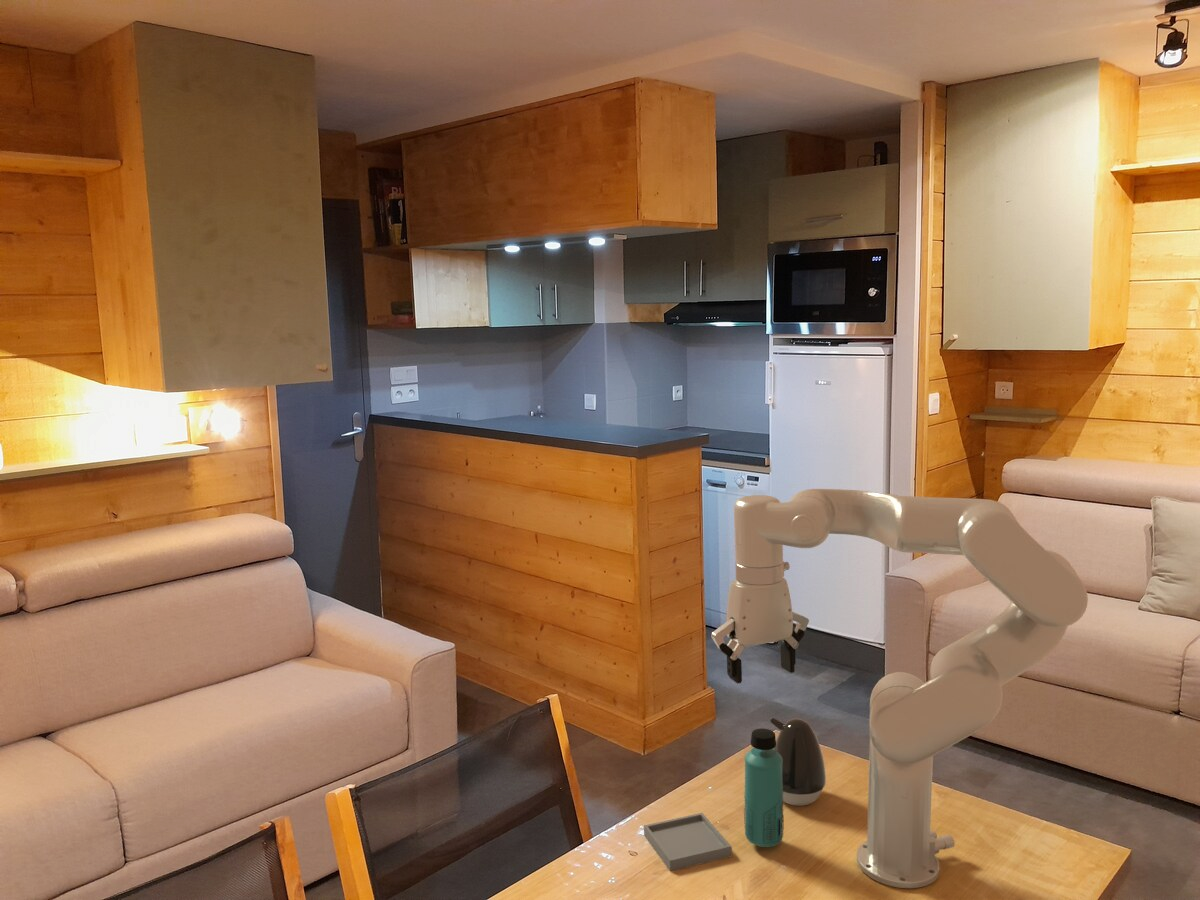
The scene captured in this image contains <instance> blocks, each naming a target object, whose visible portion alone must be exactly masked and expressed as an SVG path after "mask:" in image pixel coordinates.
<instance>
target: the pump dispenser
mask: <svg viewBox="0 0 1200 900" xmlns="http://www.w3.org/2000/svg"><path fill="white" fill-rule="evenodd" d="M769 722H770V723H771V724H772V725H773V726H775V728H777V729H778V730H779V733H778V735H777V737H776V747H775V748H773V749H774V750H775V751H777V752H778V753H779V754H780V755H781V756H782V759H783V763H782V779H783V780H782V783H783V784H784V786H783V798H784V801H783V803H785V804H788V805H792V806H796V807H797V806H798V807H799V806H800V807H801V806H807V805H810V804H811V805H812V804H813V803H814V802H816V800H818V799H819V797H821V794H822V792H823V789H824V788H825V786H826V782H827V781H826V778H827V777H826V768H825V762H824V756H823V752H822V748H821V746H820V742H819V740H818V737H817V734H816V732H815V731H814V729H813V728H812V725H810V723H808V721H806V720H803V719H802V718H792V719H790V720H788V721H786V723H784V722H782V721H780V720H778V719H777V718H775V717H771V718H770V719H769Z"/></svg>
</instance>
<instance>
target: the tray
mask: <svg viewBox="0 0 1200 900" xmlns="http://www.w3.org/2000/svg"><path fill="white" fill-rule="evenodd" d="M643 836H644V837H645V838H646V840H647V841H648V842H649V844H650V846H651V847H652V848H653V850H654V851H655V852H656V854H657V855H658V857H659V858H660V859H661V860H662V862H663V863H664V865H665V866H666V867H667V869H668V870H669V871H670V872H671V871H676V870H680V869H684V868H688V867H693V866H697V865H701V864H705V863H709V862H714V861H717V860H718V861H719V860H722V859H726V858H730V856H731V857H732V845H731V844H730V843H729V842H728V841H727V839H726V838H725V837H724V836H723V835H722V834H721V833H720V831H719V830H718V829H717V828H716V827H715V825H714V824H713V823H712V822H711V821H710V820H709V819H708V818H707V816H706V815H705V814H704V812H699V813H696V814H690V815H686V816H681V817H676V818H671V819H668V820H663V821H659V822H654V823H653V822H652V823H650V824H645V825H643ZM725 857H726V858H725Z"/></svg>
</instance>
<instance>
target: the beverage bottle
mask: <svg viewBox="0 0 1200 900" xmlns="http://www.w3.org/2000/svg"><path fill="white" fill-rule="evenodd" d="M750 735H751V737H750V745H751V747H753V748H751V749H750V750H748V752H746V753H745V754H744V793H743V798H744V801H743V802H744V808H743V809H744V812H743V823H744V826H743V827H744V828H743V829H744V834H745V838H746V839H747V841H748V842H749V843H751V844H753V845H755V846H757V847H762V848H765V847H766V848H770V847H775V846H777V845H779V844H780V843H781V842H782V841H783V838H784V833H785V832H784V829H785V825H784V822H785V821H784V819H785V818H784V816H785V815H784V798H783V786H784V784H783V783H782V780H783V779H782V763H783V759H782V756H781V755H780V754H779V753H778V752H777V751H775V750H774V749H773V748H775V747H776V739H777V737H776V733H775V731H773V730H772V729H769V728H756V729H753V730H752V732H751V734H750Z"/></svg>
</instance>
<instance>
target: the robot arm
mask: <svg viewBox="0 0 1200 900" xmlns="http://www.w3.org/2000/svg"><path fill="white" fill-rule="evenodd" d="M733 506H734V507H733V518H734V519H733V521H734V522H733V525H734V548H735V549H734V552H735V553H734V556H735V560H734V561H735V580H733V581H731V582H730V586H729V591H728V597H727V605H726V606H727V608H726V609H727V610H726V622H724V623H723V624H722V625H720V626H718V628H716V629H715V630H713V631H712V632H711V634H710V636H711V639H712V640H713V643H714V644H715V645H716V648H717V649H718V650H719V651H721V652H722V653H723V654H724V655H725V656H726V673H727V676H728V678H729V679H730V680H732V681H734V682H735V683H736V684H742V682H743V676H742V675H743V671H742V667H743V666H742V659H740V658H739V657H740V655H741V653H742V652H743V651H744V649H745V647H752V646H753V647H754V646H758V645H765V644H769V643H775V642H780V641H782V642H783V643H780V667H781V668H782V669H783V670H785V671H787V672H788V673H790V674H792V673H793V674H794V673H795V668H796V667H795V665H796V649H798V647H799V642H800V641H801V640H802V639H803V638H804V636H805V635H806V634H805V633H806V632H805V631H807V627H808V624H809V622H810V619H809V618H808V617H806V616H804V615H801V614H798V613H797V612H794V611H793V607H792V599H791V594H790V590H789V585H788V581H787V579H786V578H785V572H786V571H788V570H790V568H791V567H790V564H789V562H788V561H784V551H783V550H784V546H787V547H791V548H798V549H812V548H813V549H814V548H817V547H818V546H820V545H822V544H823V543H824V542H825V541H826V539H827V538H828V536H829V534H832V535H847V536H848V535H849V536H850V535H851V536H857V537H862V538H866V539H867V538H868V539H871V540H874V541H877V542H878V543H881V544H883V545H884V546H886V547H888V548H889V549H892V550H894V551H898V552H899V553H900V552H901V553H907V554H908V553H910V554H911V553H912V554H934V555H936V554H937V555H952V556H954V555H955V556H964V557H965V559H966V560H967V561H968V562H969V563H970V564H971V565H972V566H973V567H974V568H975V570H977V571H978V573H980V574H981V575H982V576H983V577H984V578H985V580H987V581H988V582H989V583H990V584H991V585H993V587H995V589H997V590H998V591H999V592H1000V593H1001V594H1003V595H1004V596H1005V597H1006V598H1007V599H1008V600H1009V601H1010V603H1009V604H1008V605H1007V607H1006V608H1005V609H1004V610H1003V611H1002V612H1000V614H998V615H997V616H996V617H994V618H993V619H991V620H990V621H988V622H987V623H985V624H984V625H981V626H980V627H979V628H977V629H975V630H974V631H971V632H970V633H968V634H966V635H965V636H963V637H961V638H960V639H958V640H956V641H953V642H952V643H950V644H948V645H947V646H945V647H943V648H942V649H940V650H938V652H937V653H936V654H935V655H934V657H933V658H932V660H931V664H930V679H929V680H927V681H926V682H924V681H923V680H922V679H920V678H919V677H917V676H916V675H914V674H911V673H908V672H903V671H897V672H895V671H894V672H891V673H889V674H886V675H885V676H883V677H881V678H880V679H879V680H878V682H876V684H875V686H874V687H873V689H872V691H871V695H870V699H869V723H868V724H869V755H868V756H869V759H868V761H869V762H868V763H869V764H868V786H867V787H868V791H867V792H868V793H867V795H868V796H867V801H868V802H867V834H866V835H867V836H866V838H867V839H866V841H865V842H863V843H861V844H860V845H859V847H858V849H857V851H856V862H857V865H858V866H859V868H860V870H861V871H862V872H863V873H864V874H865V875H867V876H868V877H869V878H871V879H872V880H874V881H876V882H878V883H881V884H882V885H886V886H889V887H893V888H900V889H918V888H922V887H923V888H924V887H926V886H929V885H930V884H932V883H933V882H935V881H936V880H937V879H938V877H939V875H940V862H939V859H938V858H937V857H936V854H939V852H940V851H942V850H946V849H951V848H954V847H955V839H954V837H953V836H951V835H950V834H947V835H946V834H945V835H941V836H939V837H938V835H937V832H936V831H935V830H933V829H932V830H931V823H932V820H931V818H932V817H931V816H932V813H931V812H932V795H933V794H932V792H933V791H932V790H933V772H934V771H933V766H934V764H933V763H934V756H935V755H937V754H939V753H941V752H942V751H944V750H947V749H949V748H950V747H952V746H954V745H956V744H958V743H960V742H961V741H963V740H965V739H967V738H968V737H970V736H972V735H974V734H975V733H977V732H979V731H981V730H982V729H984V728H985V727H987V726H988V725H989V724H990V723H991V722H992V721H993V720H994V719H995V718H996V717H997V716H998V714H999V712H1000V710H1001V708H1002V705H1003V698H1004V697H1003V695H1004V692H1003V686H1004V685H1005V684H1007V683H1009V682H1010V681H1012V680H1013V679H1016V678H1017V677H1018V676H1020V675H1022V674H1023V673H1025V672H1026V671H1028V670H1029V669H1031V668H1032V667H1035V666H1036V665H1038V664H1039V663H1040V662H1041V661H1043V660H1044V659H1046V657H1048V656H1049V655H1050V654H1051V653H1052V652H1054V650H1055V649H1056V648H1057V647H1058V645H1059V644H1060V642H1061V640H1062V639H1063V637H1064V636H1065V634H1066V631H1067V629H1068V627H1069V626H1072V625H1074V624H1075V623H1077V622H1078V621H1079V620H1080V619H1081V618H1082V617H1083V615H1084V614H1085V613H1086V611H1087V608H1088V602H1089V600H1088V599H1089V597H1088V592H1087V591H1088V590H1087V589H1086V586H1085V584H1084V583H1083V581H1082V579H1081V577H1080V576H1079V575H1078V573H1077V571H1076V570H1075V568H1074V567H1073V566H1072V565H1071V563H1070V561H1068V560H1067V559H1066V558H1065V557H1064V556H1063V555H1061V554H1060V553H1058V552H1056V551H1053V550H1050V549H1049V550H1048V549H1045V548H1044V547H1043V546H1042V545H1041V544H1040V543H1039V542H1038V541H1036V540H1035V539H1034V538H1033V537H1032V536H1031V535H1030V533H1028V532H1027V531H1026V530H1025V529H1024V528H1023V527H1022V525H1020V523H1019V522H1018V520H1017V518H1016V517H1015V515H1014V513H1013V512H1012V511H1011V510H1010V509H1009V508H1008V507H1007V505H1005V504H1003V503H1002V502H999V501H996V500H993V499H986V498H984V499H983V498H968V497H967V498H966V497H965V498H961V497H933V496H932V497H931V496H930V497H929V496H913V495H912V496H911V495H910V496H907V495H897V494H891V493H880V492H873V491H866V490H858V489H857V490H856V489H841V488H838V489H837V488H836V489H835V488H811V489H805V490H801V491H799V492H797V493H796V494H794V495H793V496H792V498H791V499H790V500H789V501H787V502H781V501H780V499H778V498H777V497H774V496H772V495H766V494H765V495H764V494H763V495H761V494H758V495H757V494H755V495H754V494H753V495H752V494H751V495H747V496H746V495H745V496H742V497H739V498H738V499H737V500H736V501H735V503H734V505H733ZM794 622H796V624H795V627H793V626H794ZM725 636H727V638H728V639H730V640H729V641H728V643H726V641H725V640H724V638H725Z"/></svg>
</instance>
